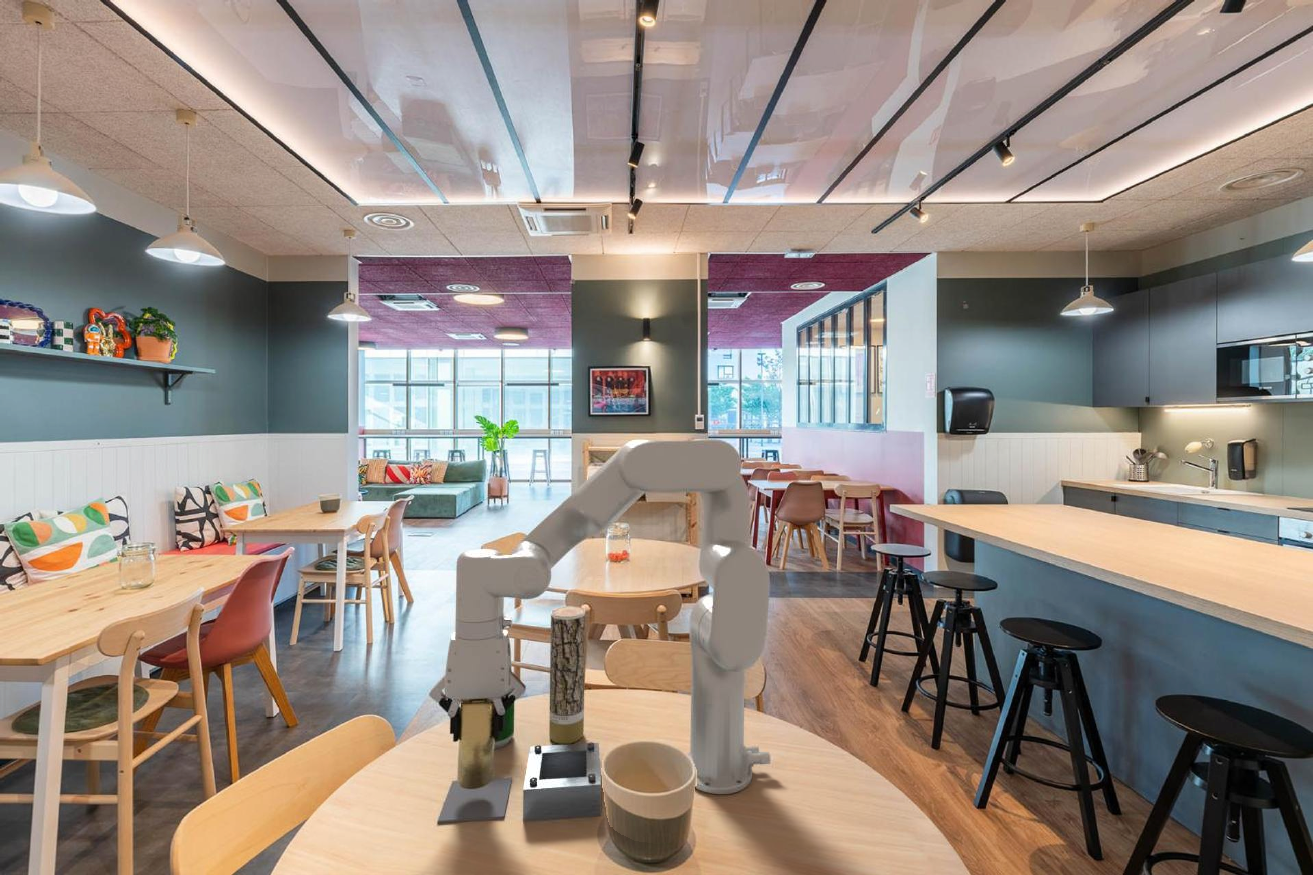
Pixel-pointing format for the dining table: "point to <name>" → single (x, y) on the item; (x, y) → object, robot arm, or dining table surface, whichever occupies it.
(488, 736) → the tan cylinder
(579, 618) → the paper tube
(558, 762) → the housing
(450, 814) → the rubber mat
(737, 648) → the robot arm
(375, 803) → the dining table surface
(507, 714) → the soda can
